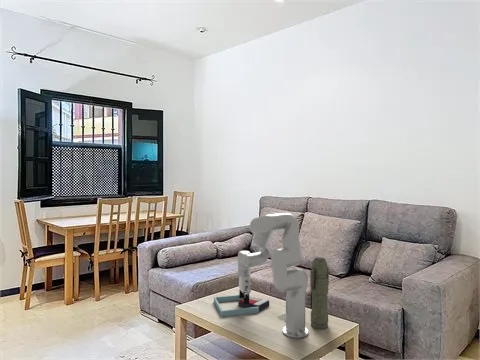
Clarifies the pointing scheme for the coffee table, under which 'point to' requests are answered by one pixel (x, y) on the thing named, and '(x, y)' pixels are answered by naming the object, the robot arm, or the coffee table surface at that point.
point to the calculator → (255, 303)
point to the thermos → (319, 293)
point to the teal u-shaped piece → (233, 311)
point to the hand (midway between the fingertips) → (244, 300)
